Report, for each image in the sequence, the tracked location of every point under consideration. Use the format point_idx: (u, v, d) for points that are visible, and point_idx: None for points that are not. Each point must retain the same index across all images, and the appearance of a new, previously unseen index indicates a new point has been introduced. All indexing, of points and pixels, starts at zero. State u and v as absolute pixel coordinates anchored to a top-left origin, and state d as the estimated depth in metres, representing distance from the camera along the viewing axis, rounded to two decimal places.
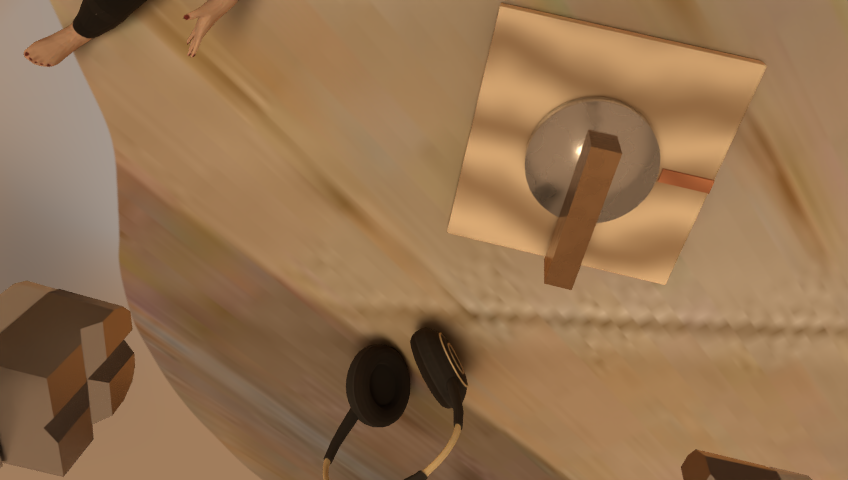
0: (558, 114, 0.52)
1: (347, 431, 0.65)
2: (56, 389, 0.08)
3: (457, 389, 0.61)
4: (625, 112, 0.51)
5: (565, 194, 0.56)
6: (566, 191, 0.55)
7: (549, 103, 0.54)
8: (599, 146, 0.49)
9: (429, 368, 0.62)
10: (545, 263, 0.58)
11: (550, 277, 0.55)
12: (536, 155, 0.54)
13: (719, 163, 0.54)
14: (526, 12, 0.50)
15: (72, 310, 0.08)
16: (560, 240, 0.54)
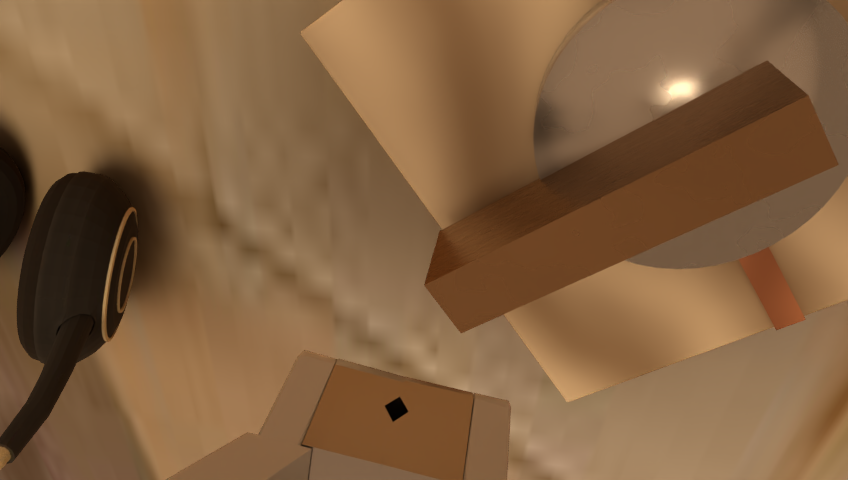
0: None
1: None
2: (380, 472, 0.08)
3: (77, 350, 0.25)
4: None
5: (595, 149, 0.23)
6: (602, 145, 0.23)
7: None
8: (811, 110, 0.18)
9: (47, 268, 0.25)
10: (443, 243, 0.25)
11: (447, 283, 0.23)
12: (625, 24, 0.21)
13: (840, 299, 0.27)
14: None
15: (367, 384, 0.08)
16: (537, 232, 0.21)
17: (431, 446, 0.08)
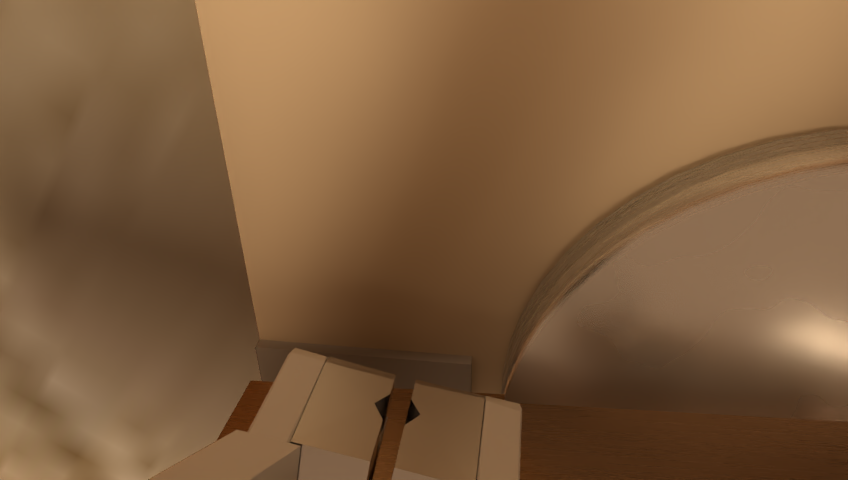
0: None
1: None
2: (369, 469, 0.08)
3: None
4: None
5: (646, 407, 0.10)
6: (665, 409, 0.10)
7: None
8: None
9: None
10: None
11: None
12: None
13: None
14: None
15: (357, 381, 0.08)
16: None
17: (444, 448, 0.08)
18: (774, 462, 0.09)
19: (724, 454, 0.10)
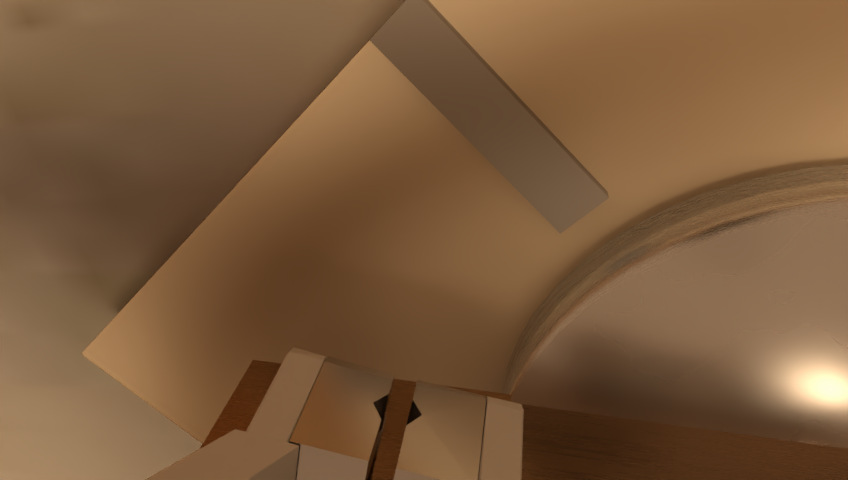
0: None
1: None
2: (368, 469, 0.08)
3: None
4: None
5: (651, 419, 0.11)
6: (670, 422, 0.11)
7: None
8: None
9: None
10: (245, 417, 0.10)
11: None
12: None
13: None
14: None
15: (355, 381, 0.08)
16: None
17: (445, 448, 0.08)
18: None
19: (727, 471, 0.10)
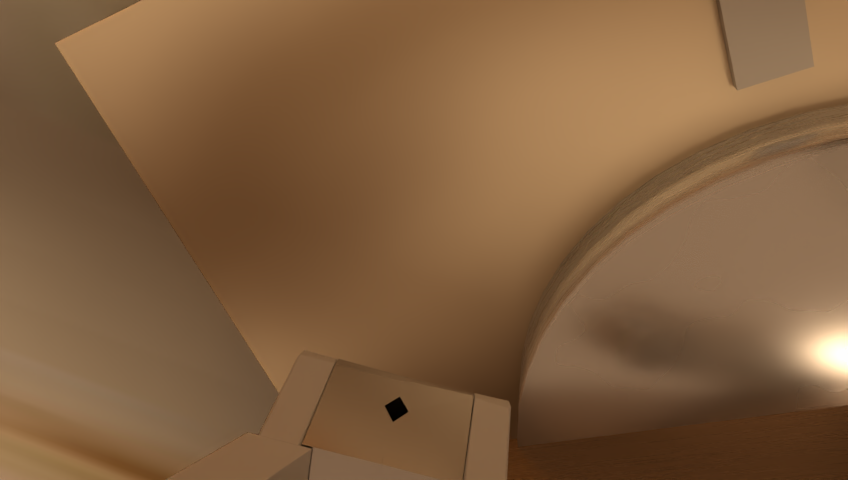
0: None
1: None
2: (380, 472, 0.08)
3: None
4: None
5: (650, 427, 0.11)
6: (669, 425, 0.11)
7: None
8: None
9: None
10: None
11: None
12: (825, 213, 0.08)
13: None
14: None
15: (366, 384, 0.08)
16: None
17: (431, 445, 0.08)
18: (779, 462, 0.09)
19: (729, 462, 0.10)
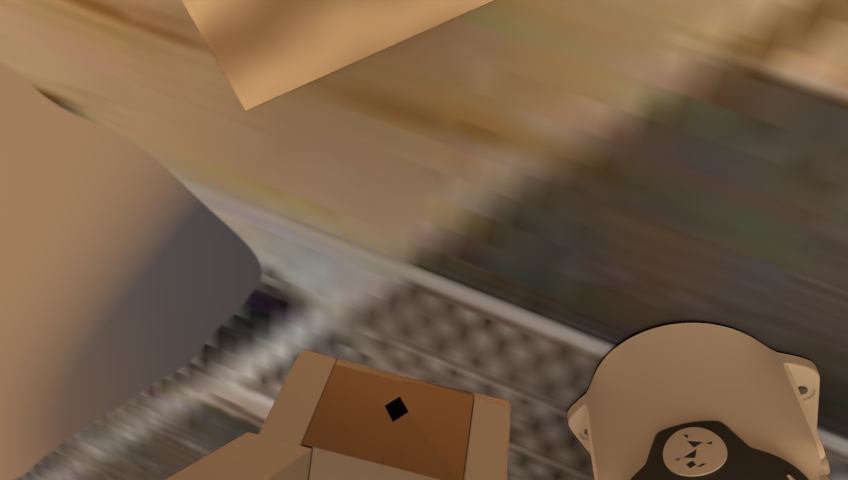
0: None
1: None
2: (380, 472, 0.08)
3: None
4: None
5: None
6: None
7: None
8: None
9: None
10: None
11: None
12: None
13: None
14: None
15: (366, 384, 0.08)
16: None
17: (432, 445, 0.08)
18: None
19: None
